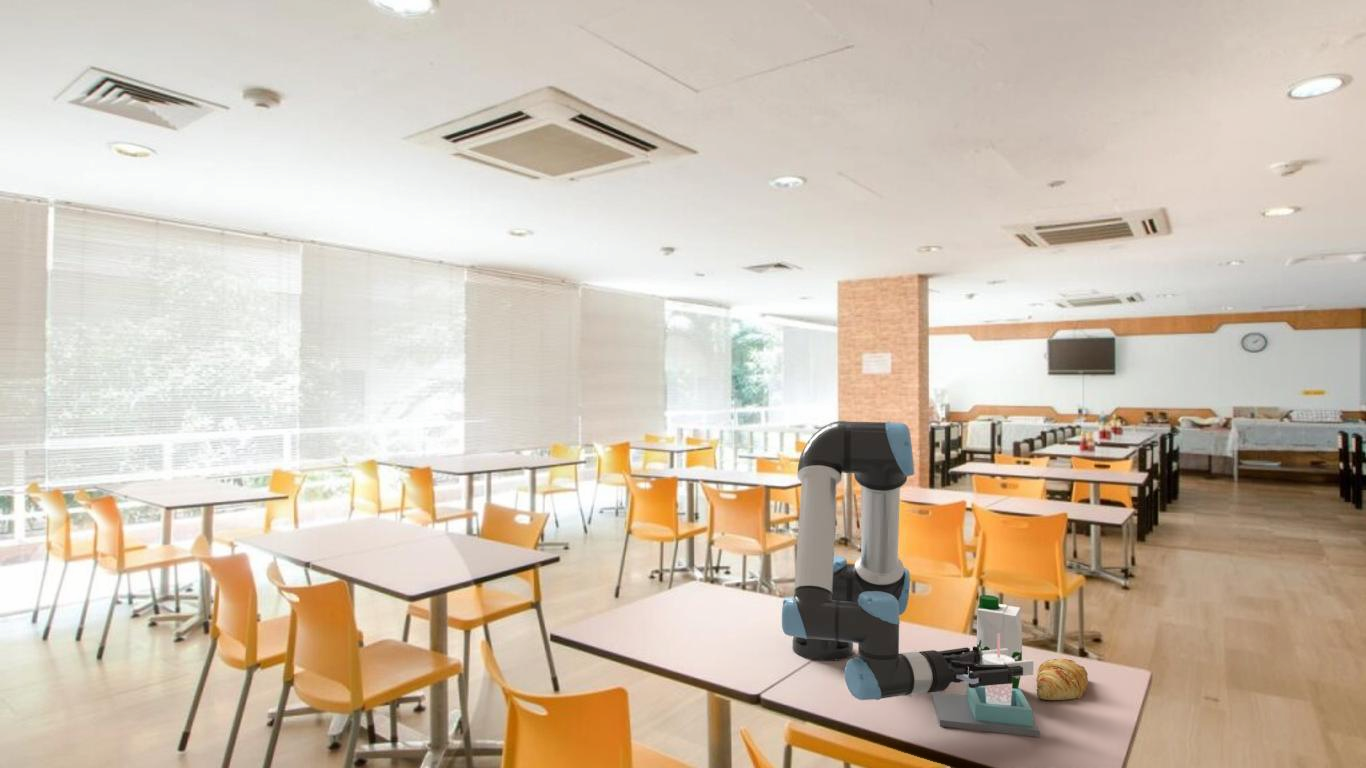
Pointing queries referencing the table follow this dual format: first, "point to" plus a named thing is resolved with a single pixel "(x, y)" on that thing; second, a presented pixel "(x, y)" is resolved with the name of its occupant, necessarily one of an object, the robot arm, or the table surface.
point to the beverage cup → (1003, 691)
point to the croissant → (1061, 680)
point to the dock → (985, 712)
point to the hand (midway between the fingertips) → (1019, 661)
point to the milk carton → (999, 628)
